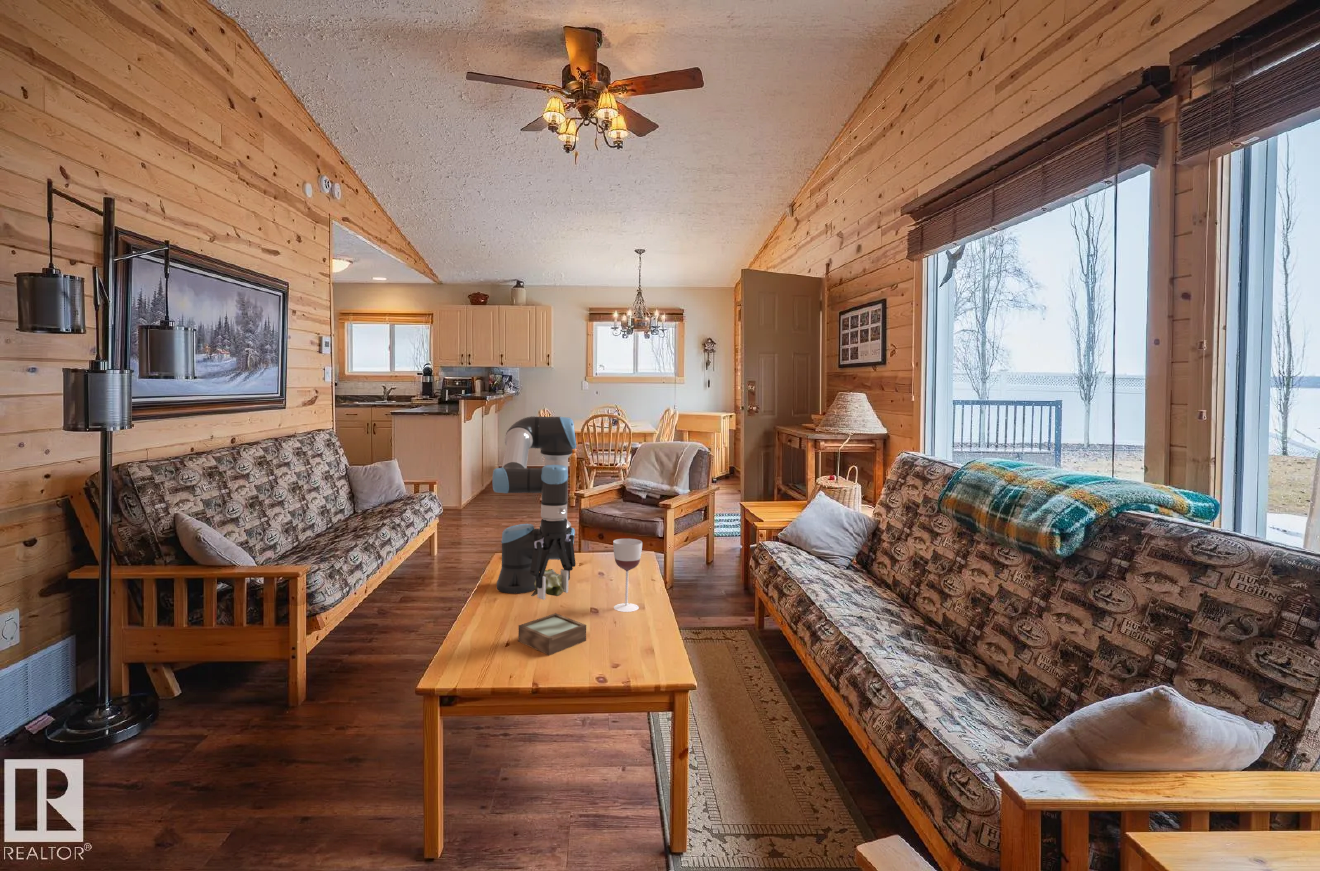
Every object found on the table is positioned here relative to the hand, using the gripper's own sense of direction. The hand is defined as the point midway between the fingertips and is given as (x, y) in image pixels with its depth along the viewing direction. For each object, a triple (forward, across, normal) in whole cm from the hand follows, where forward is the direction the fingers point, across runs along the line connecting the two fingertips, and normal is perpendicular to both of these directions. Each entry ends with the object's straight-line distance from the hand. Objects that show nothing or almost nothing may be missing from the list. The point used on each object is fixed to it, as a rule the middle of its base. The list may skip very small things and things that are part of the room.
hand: (553, 594), depth 179 cm
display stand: (+14, 0, 0) cm, 14 cm away
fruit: (+1, 0, +2) cm, 2 cm away
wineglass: (+14, +36, +4) cm, 39 cm away
